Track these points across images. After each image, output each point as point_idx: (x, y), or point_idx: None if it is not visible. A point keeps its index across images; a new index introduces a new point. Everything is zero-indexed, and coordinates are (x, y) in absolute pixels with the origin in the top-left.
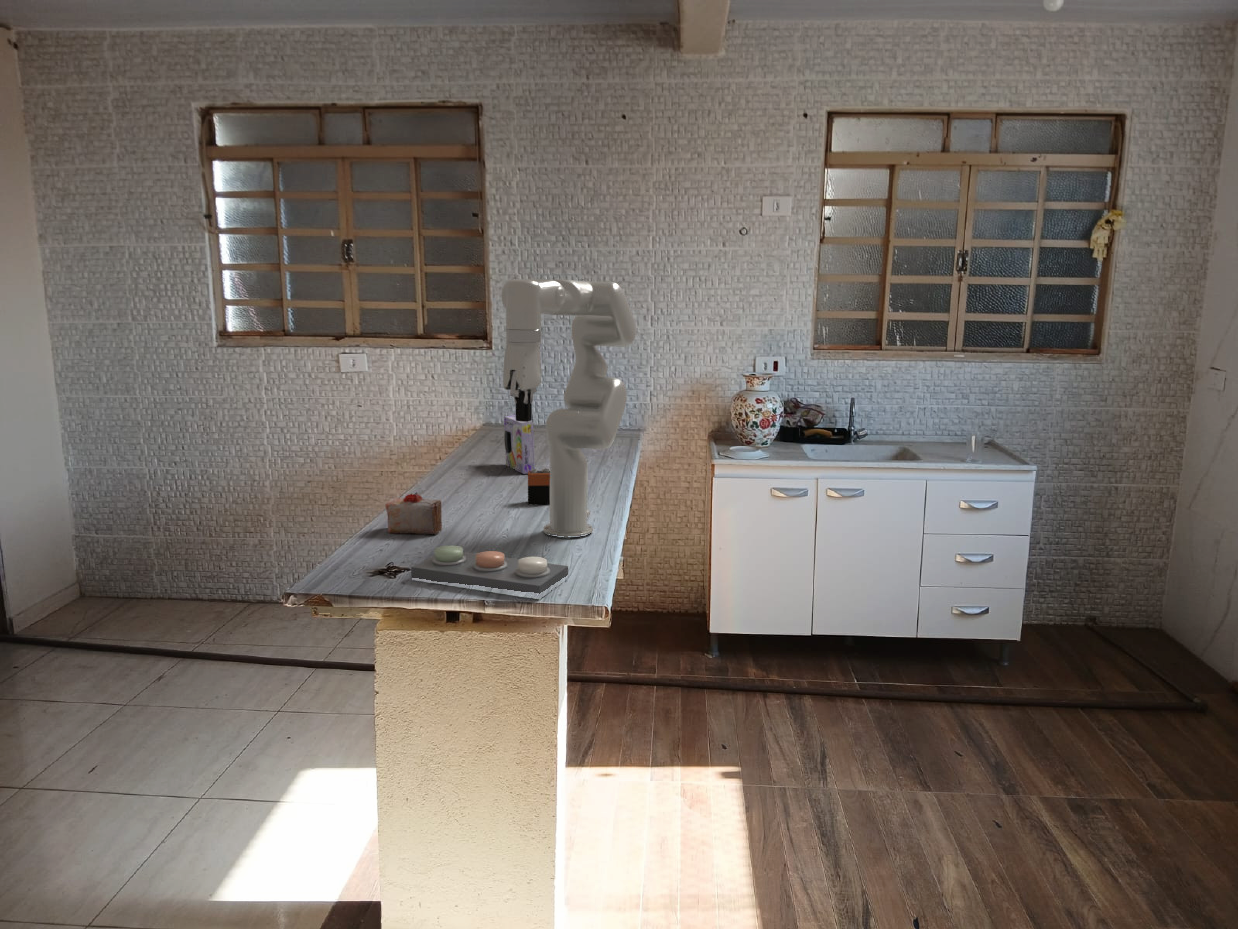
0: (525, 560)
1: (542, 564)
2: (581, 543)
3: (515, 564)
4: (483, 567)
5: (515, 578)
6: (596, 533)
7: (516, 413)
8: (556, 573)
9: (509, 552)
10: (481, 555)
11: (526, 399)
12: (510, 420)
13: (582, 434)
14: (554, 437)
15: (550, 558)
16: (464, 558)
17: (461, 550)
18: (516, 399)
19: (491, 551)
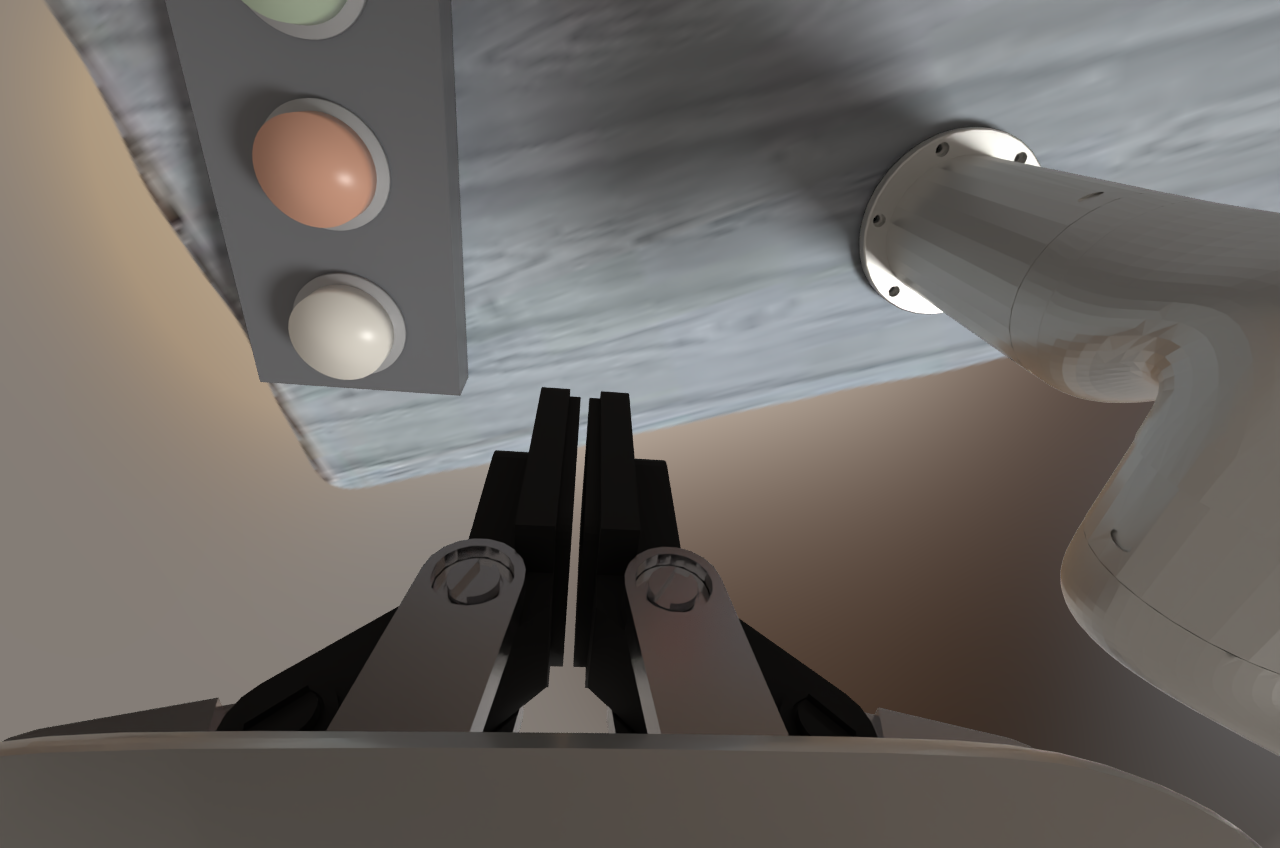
0: (329, 316)
1: (327, 375)
2: (816, 308)
3: (395, 244)
4: None
5: (272, 297)
6: (936, 318)
7: (535, 437)
8: (381, 388)
9: (658, 98)
10: (287, 140)
11: (493, 731)
12: None
13: (1132, 527)
14: (1222, 325)
15: (634, 267)
16: (329, 29)
17: (294, 19)
18: (349, 652)
19: (353, 158)
